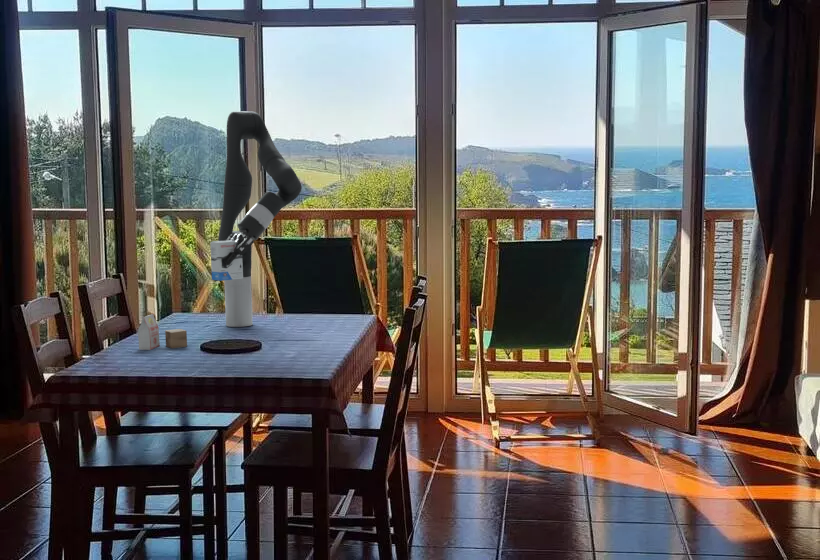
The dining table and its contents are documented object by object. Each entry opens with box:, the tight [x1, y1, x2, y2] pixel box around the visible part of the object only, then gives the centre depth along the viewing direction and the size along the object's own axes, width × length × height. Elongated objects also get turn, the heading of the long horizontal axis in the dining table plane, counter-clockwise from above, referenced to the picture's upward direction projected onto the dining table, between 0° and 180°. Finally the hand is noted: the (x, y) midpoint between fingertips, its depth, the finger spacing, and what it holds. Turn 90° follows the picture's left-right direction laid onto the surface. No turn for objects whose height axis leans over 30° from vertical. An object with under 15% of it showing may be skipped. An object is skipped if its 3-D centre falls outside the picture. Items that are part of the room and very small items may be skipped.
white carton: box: [137, 313, 161, 351], centre depth 296 cm, size 4×7×10 cm, turn 171°
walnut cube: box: [164, 328, 188, 349], centre depth 298 cm, size 5×5×5 cm
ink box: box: [209, 240, 243, 282], centre depth 294 cm, size 8×5×12 cm, turn 131°
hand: (221, 262), depth 293 cm, fingers closed on ink box, 5 cm apart
